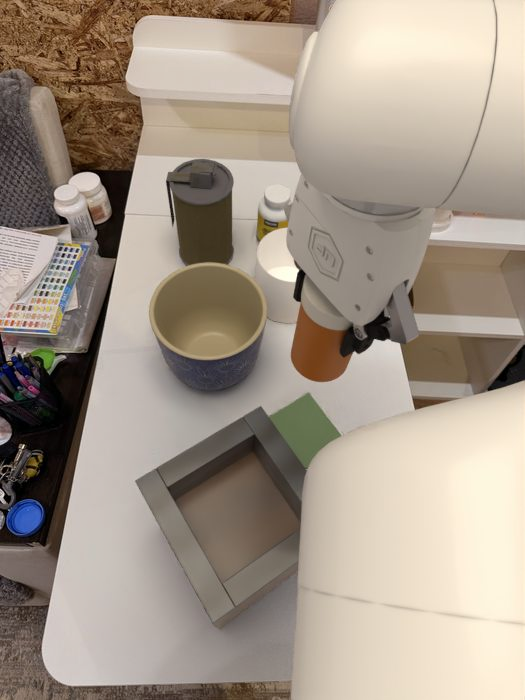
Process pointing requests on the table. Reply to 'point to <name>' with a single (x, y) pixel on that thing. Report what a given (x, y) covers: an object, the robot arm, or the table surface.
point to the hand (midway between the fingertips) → (330, 319)
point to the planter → (209, 323)
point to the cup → (277, 277)
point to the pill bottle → (272, 210)
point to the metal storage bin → (231, 513)
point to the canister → (202, 210)
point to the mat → (305, 428)
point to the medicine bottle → (319, 336)
